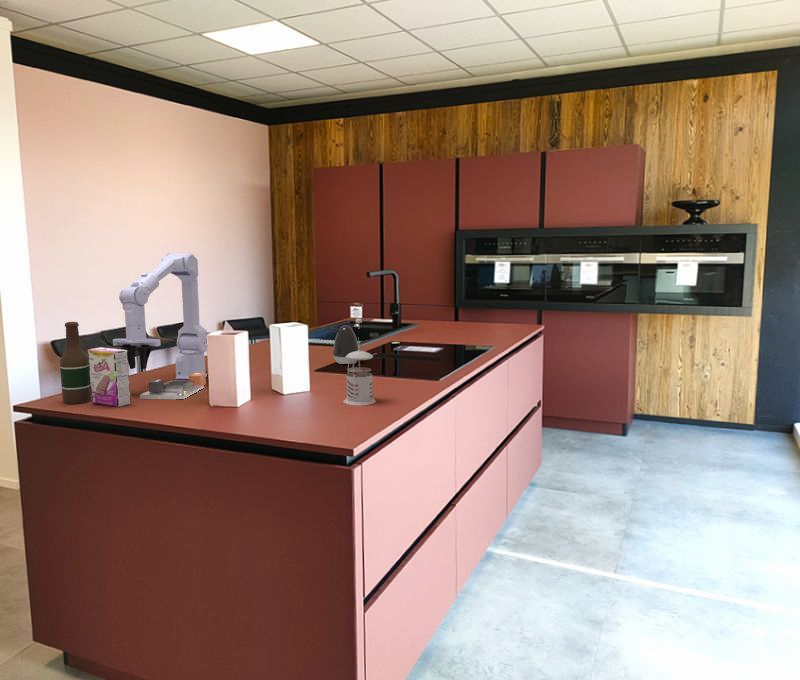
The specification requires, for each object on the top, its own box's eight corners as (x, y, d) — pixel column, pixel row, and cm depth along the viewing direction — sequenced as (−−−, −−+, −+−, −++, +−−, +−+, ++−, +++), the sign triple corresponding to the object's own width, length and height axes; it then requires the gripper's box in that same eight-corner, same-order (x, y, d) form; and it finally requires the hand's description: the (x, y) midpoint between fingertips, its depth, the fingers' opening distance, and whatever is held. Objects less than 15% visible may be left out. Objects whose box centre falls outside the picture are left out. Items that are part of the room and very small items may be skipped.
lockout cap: (189, 387, 215) (188, 374, 215) (194, 384, 219) (193, 372, 219) (200, 387, 215) (200, 374, 214) (205, 385, 219) (205, 372, 218)
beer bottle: (97, 399, 198) (92, 321, 195) (77, 405, 191) (71, 324, 188) (77, 397, 201) (71, 320, 198) (56, 403, 194) (50, 323, 190)
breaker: (149, 392, 202) (148, 381, 201) (154, 389, 205) (153, 379, 205) (158, 392, 201) (157, 381, 201) (163, 389, 205) (163, 379, 204)
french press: (351, 406, 189) (349, 321, 185) (336, 398, 199) (334, 317, 195) (381, 403, 193) (381, 319, 190) (365, 395, 203) (364, 315, 200)
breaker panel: (140, 398, 199) (139, 389, 199) (163, 387, 214) (162, 379, 214) (183, 399, 198) (183, 391, 197) (204, 388, 213) (203, 380, 212)
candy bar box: (90, 404, 193) (86, 349, 190) (104, 400, 197) (100, 346, 195) (118, 408, 188) (114, 351, 186) (131, 404, 193) (128, 349, 190)
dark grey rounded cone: (332, 361, 261) (331, 324, 259) (358, 361, 262) (358, 323, 260) (332, 366, 251) (332, 327, 249) (359, 365, 252) (359, 326, 250)
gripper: (106, 326, 198) (109, 370, 200) (151, 327, 196) (154, 371, 198) (118, 323, 205) (121, 366, 207) (162, 324, 203) (165, 367, 205)
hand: (138, 368), depth 203 cm, fingers open, 3 cm apart
